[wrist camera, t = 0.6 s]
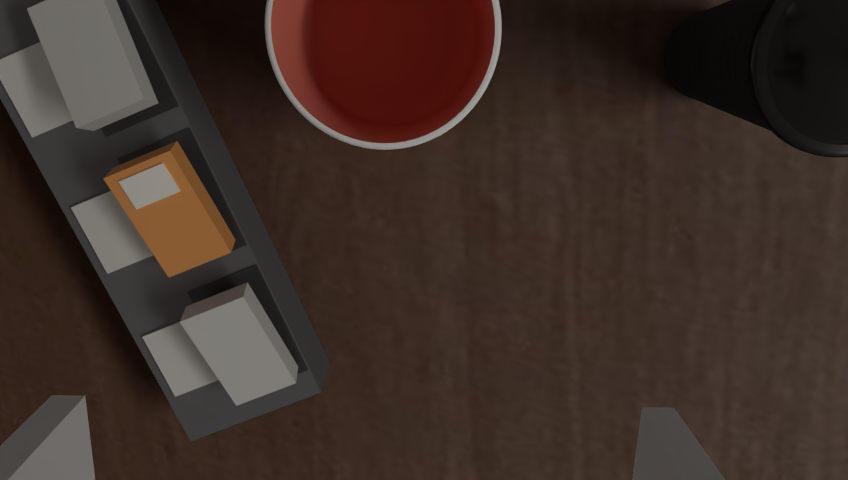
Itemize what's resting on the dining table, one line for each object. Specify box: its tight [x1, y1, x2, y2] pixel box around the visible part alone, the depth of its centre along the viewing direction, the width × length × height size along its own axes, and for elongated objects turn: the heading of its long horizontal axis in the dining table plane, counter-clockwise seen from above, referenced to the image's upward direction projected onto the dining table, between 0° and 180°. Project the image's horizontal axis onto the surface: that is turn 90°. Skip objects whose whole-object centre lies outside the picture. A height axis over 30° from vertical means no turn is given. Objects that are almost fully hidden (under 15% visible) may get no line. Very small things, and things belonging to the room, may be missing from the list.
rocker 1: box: [27, 0, 158, 131], centre depth 33 cm, size 6×4×2 cm, turn 22°
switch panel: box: [0, 0, 330, 441], centre depth 39 cm, size 26×8×4 cm, turn 22°
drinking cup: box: [665, 0, 848, 157], centre depth 29 cm, size 8×8×20 cm
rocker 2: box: [103, 141, 235, 277], centre depth 35 cm, size 6×4×2 cm, turn 22°
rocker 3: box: [180, 282, 298, 406], centre depth 37 cm, size 6×4×2 cm, turn 23°
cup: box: [265, 0, 502, 150], centre depth 34 cm, size 10×10×10 cm
